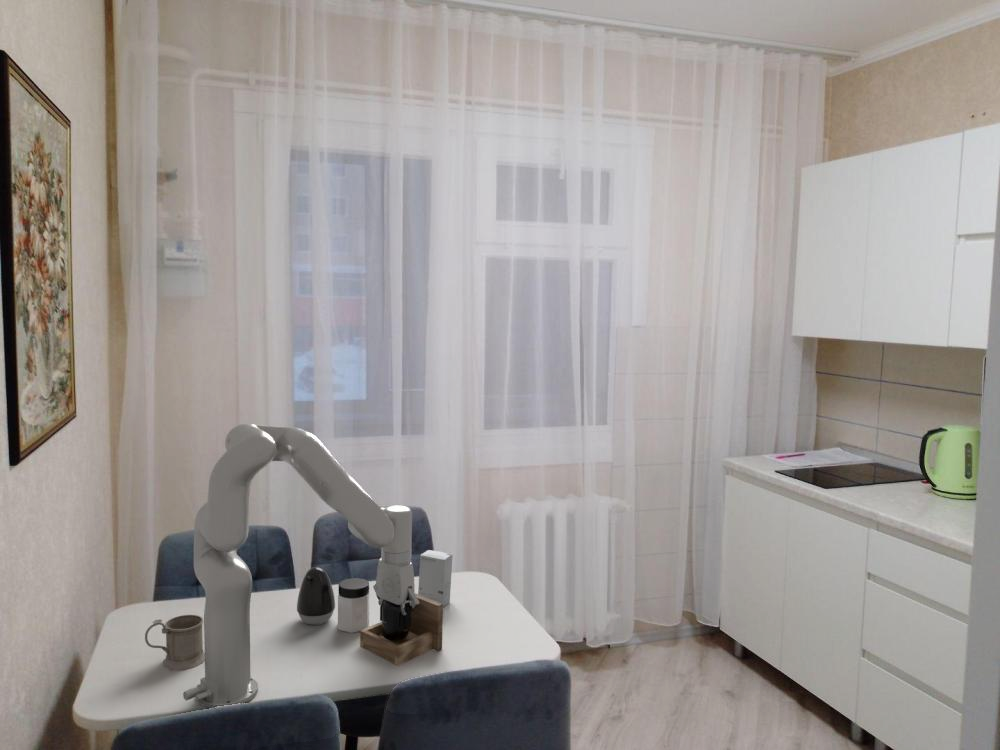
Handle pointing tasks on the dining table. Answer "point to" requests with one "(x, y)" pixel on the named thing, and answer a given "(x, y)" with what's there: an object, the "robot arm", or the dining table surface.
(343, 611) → the jar
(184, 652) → the mug
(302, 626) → the dining table surface
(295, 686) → the dining table surface
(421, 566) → the skincare box
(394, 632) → the supplement bottle
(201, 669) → the dining table surface
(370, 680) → the dining table surface
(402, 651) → the brown open boxy piece
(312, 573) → the black aroma diffuser
